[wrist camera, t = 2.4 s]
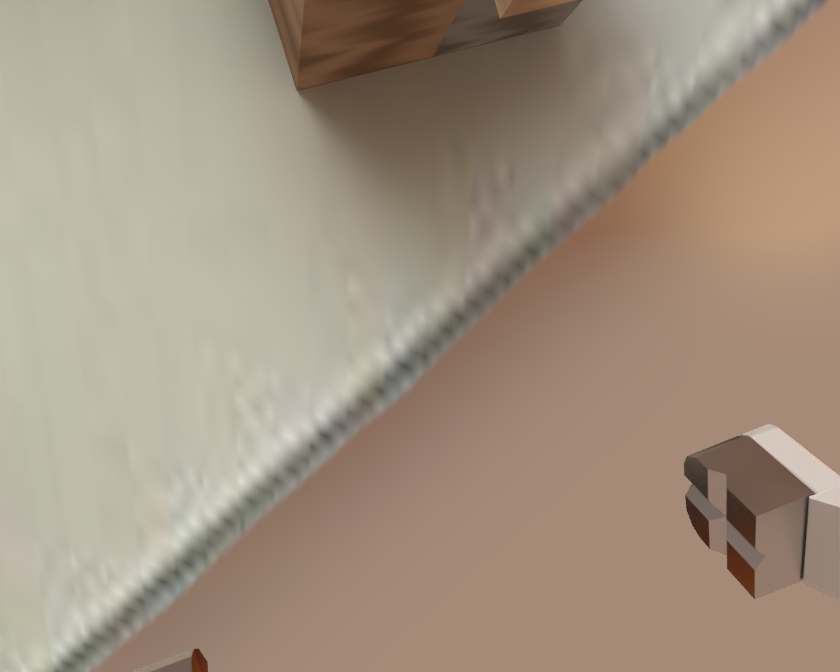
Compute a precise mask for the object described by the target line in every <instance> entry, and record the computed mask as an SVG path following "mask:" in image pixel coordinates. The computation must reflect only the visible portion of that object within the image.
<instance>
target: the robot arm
mask: <svg viewBox="0 0 840 672" xmlns="http://www.w3.org/2000/svg"><path fill="white" fill-rule="evenodd" d="M684 475H685V476H686V477H687V478H688V479H689V480H690V481H691V483H692V484H691V486H690V488H689V490H688V492H687V493H686V496H685V498H686V508H687V512H688V515H689V518H690V520H691V523H692V525H693V527H694V529H695V530H696V532H697V534H698V535H699V537H700V538H701V539H702V540H703V542H704V543H705V544H706V545H707V546H708V547H709V549H712V550H714V551H717V552H720V553H722V554H725V555H727V569H728V570H729V571H730V572H731V573H732V575H733V576H734V577H735V578H736V579H737V580H738V581H739V582H740V583H741V585H742V586H743V587H744V588H745V589H746V590H747V591H748V592H749V594H750V595H751V596H752V597H753V598H754V599H756V598H759V597H761V596H764V595H767V594H769V593H772V592H774V591H777V590H780V589H782V588H785V587H787V586H790V585H792V584H795V583H797V582H800V581H803V583H804V584H806V585H808V586H810V587H812V588H814V589H816V590H819V591H821V592H823V593H825V594H827V595H829V596H831V597H833V598H835V599H838V600H840V476H839V475H838V474H836V473H835V472H834V471H833V470H831V469H830V468H829V467H828V466H826V465H825V464H824V463H823V462H821V461H820V460H819V459H817V458H816V457H815V456H814V455H812V454H811V453H809V451H807V450H806V449H805V448H803V447H802V446H801V445H800V444H798V443H797V442H796V441H795V440H793V439H792V438H791V437H789V436H788V435H787V434H786V433H784V432H783V431H782V430H780V429H779V428H778V427H777V426H774V425H771V424H767V425H765V426H762V427H760V428H757V429H755V430H752V431H749V432H747V433H744V434H742V435H741V436H736V437H734V438H732V439H729V440H726V441H724V442H721V443H719V444H717V445H714V446H711V447H709V448H707V449H704V450H702V451H699V452H697V453H694V454H692V455H689V456H687V457H686V460H685V462H684ZM131 672H208V664H207V660H206V659H205V658H204V656H203V654H202V653H201V651H200V650H199V649H192V650H189V651H186V652H183V653H181V654H178V655H175V656H172V657H170V658H167V659H164V660H161V661H158V662H156V663H153V664H150V665H147V666H145V667H142V668H139V669H136V670H134V671H131Z"/></svg>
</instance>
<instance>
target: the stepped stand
mask: <svg viewBox="0 0 840 672" xmlns="http://www.w3.org/2000/svg"><path fill="white" fill-rule="evenodd" d="M268 1H269V4H270V7H271V10H272V13H273V16H274V20H275V23H276V26H277V29H278V32H279V35H280V39H281V42H282V45H283V48H284V51H285V54H286V58H287V61H288V64H289V67H290V70H291V74H292V77H293V80H294V83H295V86H296V89H297V90H300V89H304V88H308V87H312V86H316V85H320V84H324V83H328V82H332V81H336V80H340V79H345V78H349V77H353V76H357V75H361V74H365V73H369V72H373V71H377V70H381V69H385V68H389V67H393V66H397V65H401V64H405V63H409V62H413V61H417V60H421V59H425V58H429V57H433V56H437V55H441V54H445V53H449V52H453V51H457V50H461V49H465V48H469V47H473V46H477V45H481V44H485V43H489V42H493V41H497V40H501V39H505V38H509V37H513V36H517V35H521V34H525V33H529V32H533V31H537V30H541V29H545V28H549V27H553V26H557V25H560V24H561V23H562V22H563V21H564V20H565V19H566V18H567V16H568V15H569V14H570V13H571V12H572V11H573V10H574V9H575V8H576V7H577V5H578V4H579V3H580V2H581V1H582V0H575V1H571V2H567V3H563V4H559V5H554V6H550V7H546V8H542V9H538V10H534V11H530V12H526V13H522V14H517V15H513V16H509V17H505V18H501V19H500V17H499V14H498V10H497V7H496V4H495V0H268Z"/></svg>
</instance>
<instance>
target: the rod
mask: <svg viewBox="0 0 840 672" xmlns="http://www.w3.org/2000/svg"><path fill="white" fill-rule="evenodd" d="M571 1H575V0H495V4H496V7H497V10H498V14H499V17H500V19H501V18H505V17H509V16H513V15H517V14H522V13H526V12H530V11H534V10H538V9H542V8H546V7H550V6H554V5H559V4H563V3H567V2H571Z"/></svg>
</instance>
